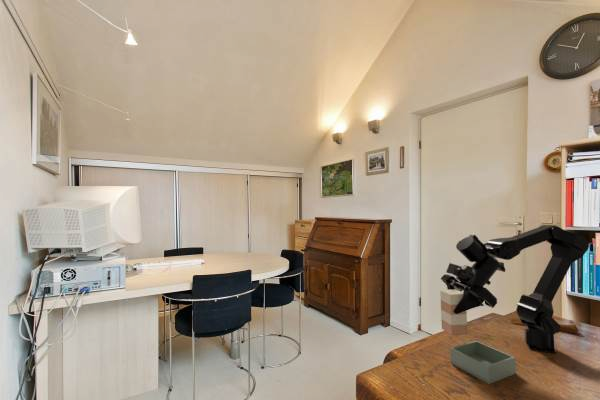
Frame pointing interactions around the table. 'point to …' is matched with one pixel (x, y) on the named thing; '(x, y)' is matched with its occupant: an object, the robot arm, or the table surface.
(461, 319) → the tile stack
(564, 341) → the table surface
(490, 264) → the robot arm
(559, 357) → the table surface
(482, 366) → the box
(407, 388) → the table surface
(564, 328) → the primitive tool
